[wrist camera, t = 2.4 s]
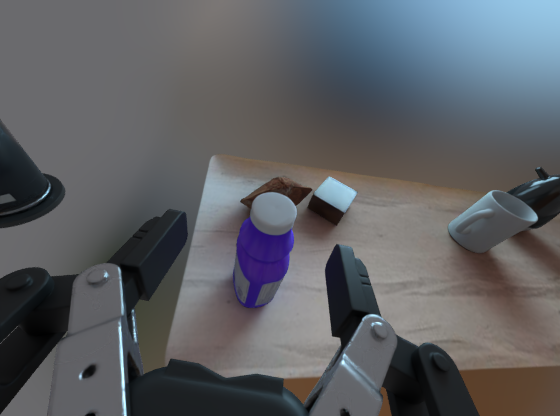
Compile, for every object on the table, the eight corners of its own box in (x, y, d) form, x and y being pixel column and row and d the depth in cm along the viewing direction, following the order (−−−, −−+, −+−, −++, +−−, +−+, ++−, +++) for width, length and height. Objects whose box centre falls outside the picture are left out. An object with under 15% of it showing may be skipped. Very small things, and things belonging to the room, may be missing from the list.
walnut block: (307, 207, 44) (313, 194, 42) (322, 189, 50) (329, 176, 47) (336, 225, 43) (344, 213, 40) (349, 204, 48) (357, 192, 45)
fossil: (312, 184, 44) (310, 162, 35) (314, 223, 42) (312, 211, 33) (253, 188, 46) (236, 168, 37) (252, 226, 44) (234, 215, 35)
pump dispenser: (486, 201, 61) (543, 157, 50) (526, 225, 57) (599, 183, 46) (478, 215, 56) (541, 169, 45) (522, 243, 51) (604, 200, 40)
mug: (464, 221, 53) (507, 189, 45) (493, 251, 47) (548, 221, 39) (428, 224, 49) (469, 190, 41) (456, 257, 44) (508, 225, 36)
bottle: (278, 306, 30) (319, 236, 17) (237, 316, 28) (251, 246, 15) (265, 260, 34) (291, 178, 22) (229, 266, 32) (235, 179, 20)
